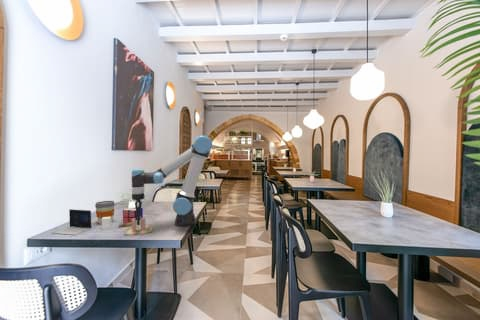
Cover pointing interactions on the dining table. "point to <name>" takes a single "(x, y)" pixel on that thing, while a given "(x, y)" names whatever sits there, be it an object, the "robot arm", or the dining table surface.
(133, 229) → the terracotta brick
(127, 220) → the puzzle cube
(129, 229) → the oak board
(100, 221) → the reusable coffee cup
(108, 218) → the off-white square brick
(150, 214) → the dining table surface
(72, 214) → the laptop
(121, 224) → the walnut plate
